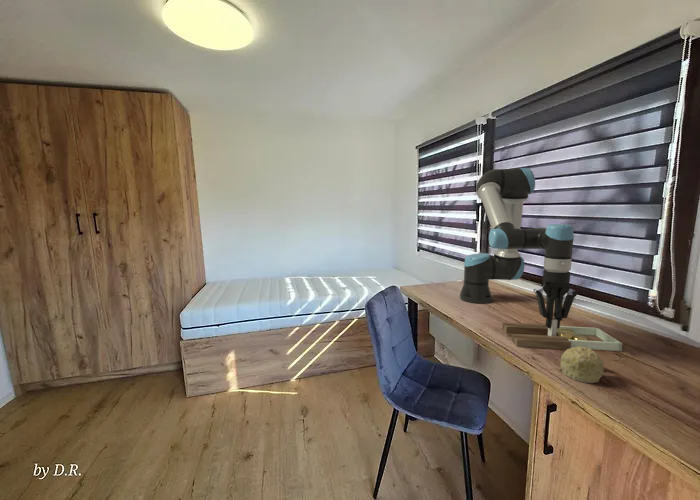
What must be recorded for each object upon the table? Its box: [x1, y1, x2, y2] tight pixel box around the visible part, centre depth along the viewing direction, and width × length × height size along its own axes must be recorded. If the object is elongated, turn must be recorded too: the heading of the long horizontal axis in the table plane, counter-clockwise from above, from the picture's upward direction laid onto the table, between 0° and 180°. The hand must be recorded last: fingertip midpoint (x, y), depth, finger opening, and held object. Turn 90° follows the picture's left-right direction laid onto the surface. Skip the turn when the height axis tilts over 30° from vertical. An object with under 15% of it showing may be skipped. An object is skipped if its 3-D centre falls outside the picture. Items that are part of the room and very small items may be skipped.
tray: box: [557, 325, 623, 352], centre depth 101 cm, size 13×15×4 cm
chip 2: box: [557, 331, 573, 340], centre depth 102 cm, size 4×4×2 cm
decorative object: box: [560, 346, 604, 384], centre depth 83 cm, size 9×10×10 cm
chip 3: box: [572, 334, 588, 341], centre depth 100 cm, size 4×4×2 cm
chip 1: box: [561, 329, 575, 335], centre depth 105 cm, size 4×4×2 cm
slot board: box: [501, 321, 571, 351], centre depth 104 cm, size 15×16×4 cm
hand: (551, 336), depth 103 cm, fingers closed
